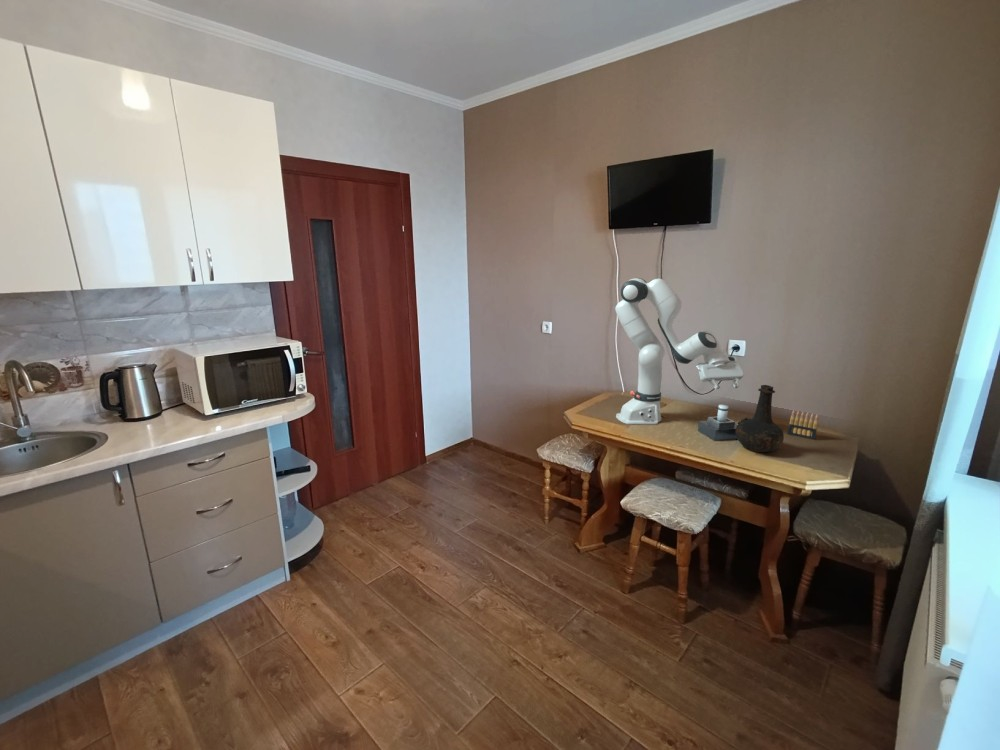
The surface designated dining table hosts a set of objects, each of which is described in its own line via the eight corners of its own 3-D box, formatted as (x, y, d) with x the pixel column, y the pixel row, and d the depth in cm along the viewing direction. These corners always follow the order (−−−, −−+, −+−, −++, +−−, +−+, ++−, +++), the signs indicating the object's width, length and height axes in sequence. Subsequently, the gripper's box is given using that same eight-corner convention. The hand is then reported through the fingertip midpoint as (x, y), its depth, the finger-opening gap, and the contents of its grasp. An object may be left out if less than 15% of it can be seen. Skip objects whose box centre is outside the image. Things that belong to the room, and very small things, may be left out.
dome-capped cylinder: (720, 426, 199) (722, 407, 196) (714, 423, 203) (716, 404, 200) (728, 425, 199) (730, 407, 197) (722, 422, 203) (724, 404, 201)
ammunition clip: (787, 434, 202) (791, 409, 199) (787, 433, 204) (792, 408, 201) (815, 440, 195) (819, 414, 192) (815, 438, 197) (820, 413, 194)
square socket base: (714, 440, 195) (716, 425, 193) (697, 430, 207) (699, 416, 205) (742, 438, 198) (744, 422, 196) (724, 428, 209) (726, 414, 207)
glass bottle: (742, 436, 200) (750, 377, 193) (787, 448, 187) (797, 385, 180) (726, 447, 188) (735, 385, 181) (773, 461, 175) (784, 394, 168)
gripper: (699, 359, 201) (709, 385, 194) (739, 357, 204) (751, 383, 197) (692, 366, 206) (702, 392, 199) (731, 365, 209) (743, 390, 202)
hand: (727, 388), depth 198 cm, fingers open, 8 cm apart
